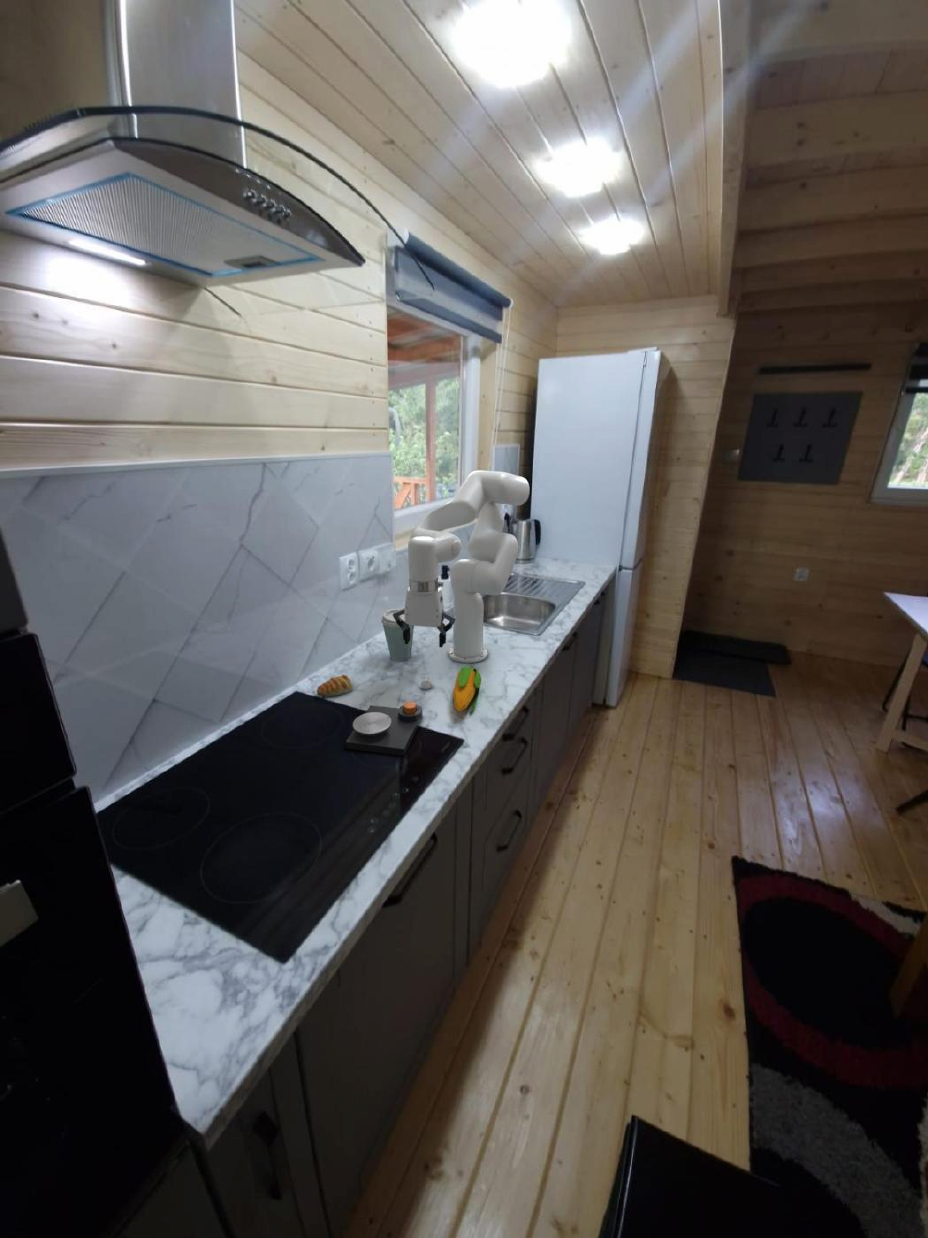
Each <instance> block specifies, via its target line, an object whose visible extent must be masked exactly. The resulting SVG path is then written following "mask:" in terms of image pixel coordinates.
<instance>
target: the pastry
mask: <svg viewBox="0 0 928 1238" xmlns="http://www.w3.org/2000/svg"><path fill="white" fill-rule="evenodd" d="M353 688H354V686H353V683H352V681H351V680H350V677H349V676H348V675H347V674H341V675H338V676H334V677H331V678H329V679H328V680H327V681H325V682H323V683H322V684H320V685H319V686H318V687H317V689H316V694H317V695H318V696H321V697H324V698H329V697H336V696H340V695H344V694H347V693H350V692H351V691H352V690H353Z"/></svg>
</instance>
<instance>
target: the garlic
mask: <svg viewBox="0 0 928 1238" xmlns="http://www.w3.org/2000/svg"><path fill="white" fill-rule="evenodd" d="M432 686H433V684H432V681H431V680H430V677H429V676H428V678H424V679H423V680H422V681H421V683H420V687H421V689H422V690H430V689H431V688H432Z"/></svg>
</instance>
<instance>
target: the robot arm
mask: <svg viewBox="0 0 928 1238" xmlns="http://www.w3.org/2000/svg"><path fill="white" fill-rule="evenodd" d="M529 496H530V484H529V482H528V480H527V479H526V478H525V477H523V476H520V475H517V474H513V473H509V472H505V471H494V470H481V469H480V470H474V471H472V472H471V473H469V475H467V477H466V478H465V479H464V481H463V483H462V484H461V485H460V487H459V488H458V490H457V491H456V492H455V494H454V496H453V497H452V499H451V500H450V501H448V502H446V503H444V504H442V505H440V506H438V507H436V508H435V509H433V510H431V511H429V512H427V513H426V514H425V515H424V516H423V517H422V518H421V519H420V520H419V522H418V523H417V524H416V525H415V527H414V528H413V530H412V532H411V534H410V537H409V540H408V543H407V551H408V552H407V554H408V555H407V557H408V587H407V589H406V593H405V600H404V601H405V602H404V607H403V608H400V609H401V610H399V611H396V612H394V614H393V617H394V619H395V621H396V623H397V624H398V625H399V626H400V627H401V630H402V631H403V640H405V644H408V643H409V642H410V640H411V639H410V627H409V625H414V627H428V628H436V629H437V630H438V631H439V632H440V633H439V635H438V647H439V648H441V649H442V648H443V646H444V645H445V644H446V643H447V632H448V631H450V630H451V629H452V628H453V631H452V632H453V633H452V636H453V638H452V639H453V641H452V642H453V644H452V646H451V647H450V648H449V649H448V656H449V658H451V659H452V660H453V661H455V662H459V663H464V664H473V663H478V662H481V661H483V660H485V659H486V658H487V657H488V650H487V648H486V647H485V646H483V645H484V617H485V616H484V614H485V613H484V612H485V611H484V610H485V604H484V599H483V597H482V595H486V596H493V597H496V596H499V595H501V594H502V593H503V591H504V590H505V588H506V586H507V584H508V581H509V578H510V576H511V573H512V571H513V568H514V565H515V564H516V561H517V557H518V554H519V542H518V539H517V537H516V536H515V535H514V534H511V533H507V532H503V530H504V527H505V518H504V515H503V513H502V511H501V510H500V508H499V506H498V504H501V505H508V506H509V505H510V506H522V505H524V504H525V503H526V502H527V501H528V499H529ZM477 517H478V518H477ZM476 518H477V520H476ZM475 520H476V523H475V525H474V528H473V530H472V532H471V535H470V537H469V539H468V542H467V545H466V553H467V555H468V557H469V558H462V559H458V560H456V561H455V562H453V563H452V565H451V567H450V571H449V579H450V584H451V585H450V586H451V589H452V598H453V599H452V600H453V602H452V603H453V604H452V605H453V607H452V608H453V609H452V610H453V611H452V612H453V613H452V614H453V615H452V614H451V613H449V612H448V611H445V607H444V606H445V605H444V597H443V591H442V587H444V581H441V580H440V579H439V564H441V563H448V562H452V561H454V560H455V559H456V558H458V557H459V556H460V554H461V552H462V541H461V539H460V538H459V537H458V536H457V535H456V534H454V533H451V532H445V530H449V529H452V528H457V527H461V526H465V525H467V524H471V523H473V522H474V521H475ZM470 558H471V559H470ZM403 614H405V622H406V623H405V622H404V621H403V620H402V619H401V618H400V615H403ZM444 620H448V623H447V624H445V623H444Z"/></svg>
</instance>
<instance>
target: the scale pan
mask: <svg viewBox="0 0 928 1238" xmlns="http://www.w3.org/2000/svg"><path fill="white" fill-rule="evenodd" d="M365 713H366V712H365ZM365 713H363V714H361V715H359V716H357V717H356V718H355V719H354V720H353V721H352V729H353V730H354V731H355V732H357V733H358V734H361V735H365V736H374V735H378V734H381V733H384V732H385V731H387V730H388V729H389V728H390V726H391V719H390V717H389V716H388V715H386V714H384V713H379V712H371V713H366V714H365Z"/></svg>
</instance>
